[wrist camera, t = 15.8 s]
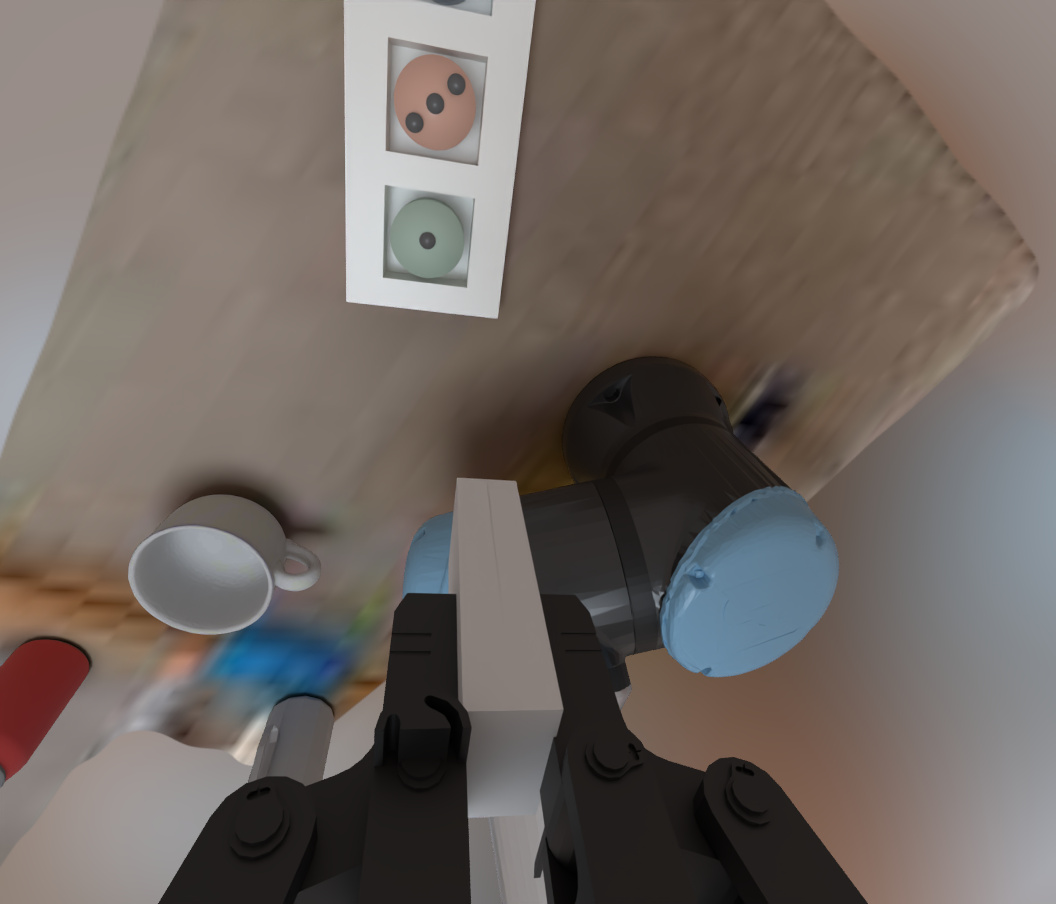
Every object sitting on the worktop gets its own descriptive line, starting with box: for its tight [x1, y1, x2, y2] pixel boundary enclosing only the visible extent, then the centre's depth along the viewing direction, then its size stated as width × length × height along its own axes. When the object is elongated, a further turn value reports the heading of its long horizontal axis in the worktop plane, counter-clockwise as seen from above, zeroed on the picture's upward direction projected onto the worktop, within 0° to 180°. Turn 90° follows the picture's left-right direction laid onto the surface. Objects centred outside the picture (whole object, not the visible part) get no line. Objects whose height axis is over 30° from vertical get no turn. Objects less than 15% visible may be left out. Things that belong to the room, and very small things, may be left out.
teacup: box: [128, 494, 321, 635], centre depth 47 cm, size 14×11×8 cm
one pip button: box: [390, 197, 464, 278], centre depth 39 cm, size 5×5×3 cm
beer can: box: [0, 639, 89, 788], centre depth 50 cm, size 7×7×12 cm
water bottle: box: [248, 696, 334, 786], centre depth 52 cm, size 9×8×25 cm
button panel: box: [344, 0, 536, 319], centre depth 36 cm, size 11×26×3 cm, turn 171°
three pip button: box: [394, 54, 476, 151], centre depth 35 cm, size 5×5×3 cm
